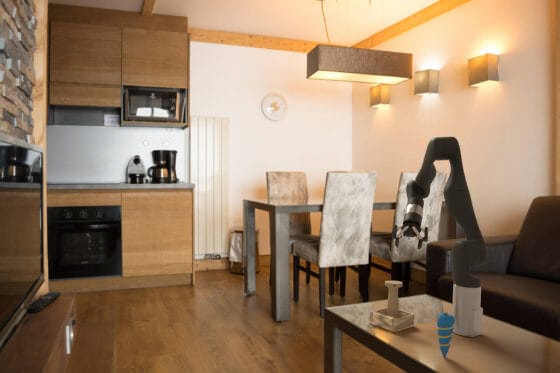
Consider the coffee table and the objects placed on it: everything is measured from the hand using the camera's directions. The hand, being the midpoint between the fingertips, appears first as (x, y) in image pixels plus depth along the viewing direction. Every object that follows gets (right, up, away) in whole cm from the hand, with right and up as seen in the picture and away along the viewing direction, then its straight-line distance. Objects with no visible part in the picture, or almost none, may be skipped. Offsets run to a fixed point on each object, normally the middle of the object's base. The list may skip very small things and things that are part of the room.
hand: (407, 247), depth 188 cm
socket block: (-10, -27, -15) cm, 33 cm away
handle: (-10, -26, -15) cm, 32 cm away
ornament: (-1, -28, -45) cm, 53 cm away
